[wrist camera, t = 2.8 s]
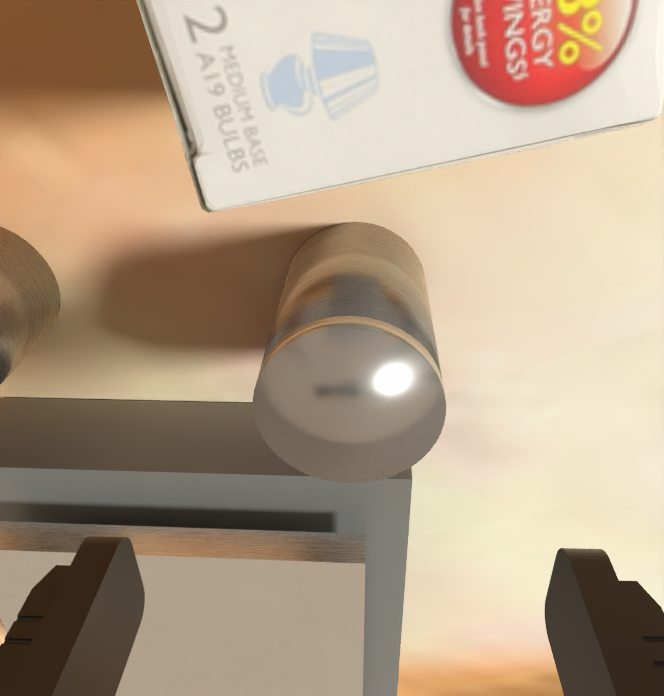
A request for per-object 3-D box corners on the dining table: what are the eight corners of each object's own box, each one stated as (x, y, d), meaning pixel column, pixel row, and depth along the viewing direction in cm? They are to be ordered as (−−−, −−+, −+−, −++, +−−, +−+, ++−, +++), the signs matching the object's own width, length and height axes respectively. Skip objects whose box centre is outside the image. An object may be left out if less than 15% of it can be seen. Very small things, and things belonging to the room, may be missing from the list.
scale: (-6, 397, 25) (-72, 471, 21) (406, 406, 24) (412, 485, 20) (84, 638, 33) (48, 721, 29) (391, 652, 32) (394, 739, 28)
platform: (-14, 521, 21) (-34, 548, 20) (365, 533, 20) (365, 563, 19) (75, 722, 28) (63, 751, 27) (361, 737, 27) (361, 768, 26)
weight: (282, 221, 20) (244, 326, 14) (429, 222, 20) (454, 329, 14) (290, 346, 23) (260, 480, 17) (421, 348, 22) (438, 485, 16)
